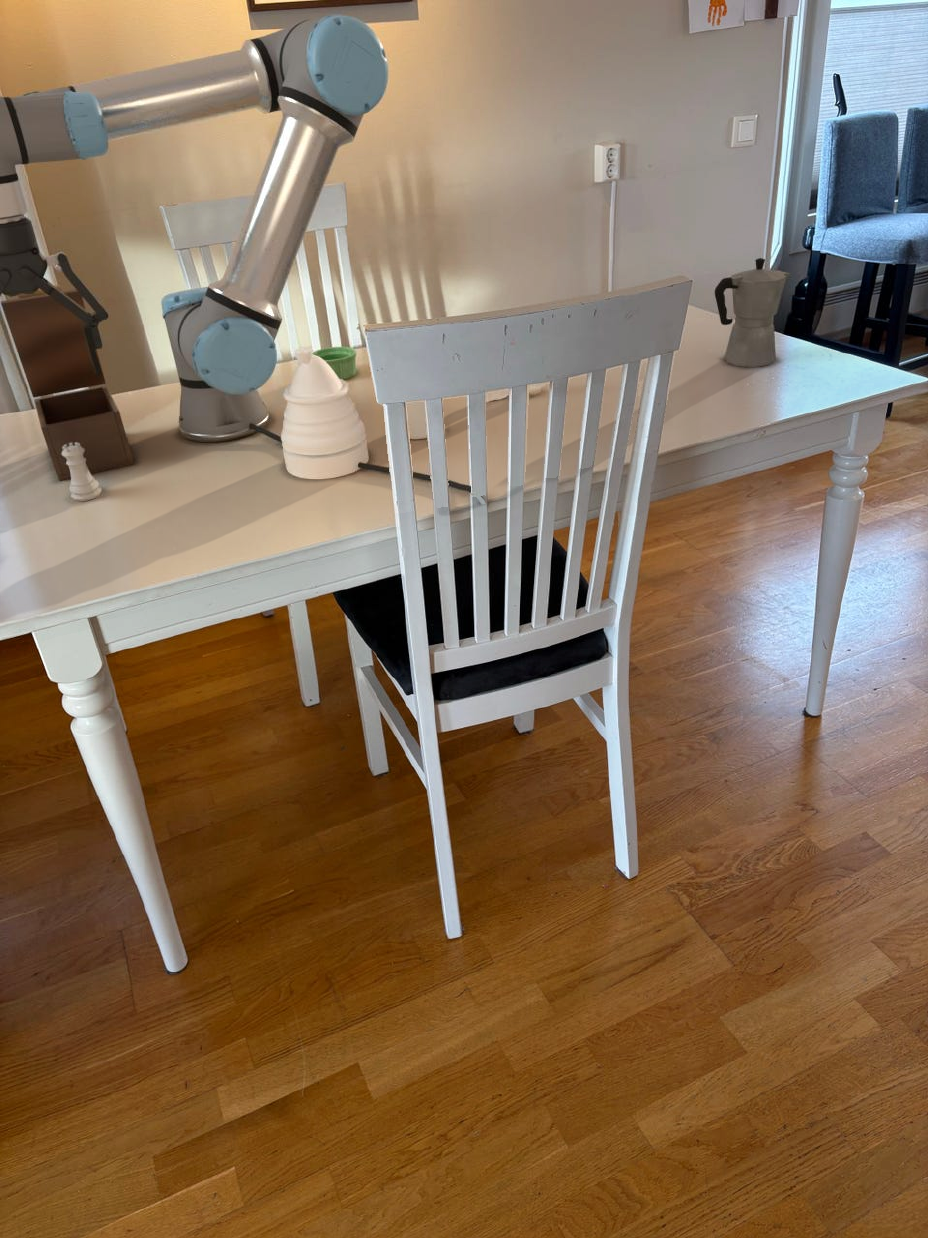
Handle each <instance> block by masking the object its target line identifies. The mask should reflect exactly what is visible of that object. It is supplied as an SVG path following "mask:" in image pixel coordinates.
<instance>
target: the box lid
mask: <svg viewBox="0 0 928 1238" xmlns="http://www.w3.org/2000/svg"><path fill="white" fill-rule="evenodd" d="M54 286H55V287H56V288H58V289H59V290H60V291H62V292H63V293H64V294H65V295H67V296H68V297H69V298H71V299H72V300H73V301H75V302H76V303H77V304H79V305H80V306H81V307H82V308H84V309H85V310H86V311H87V309H86V304H85V302H84V298H83V297H82V296H81V294H80V293H79V292H78V291H77V290H76V289H71V290H70V289H69V290H62V288H61V285H60V284H56V285H54ZM16 297H17V298H13V299H7V300H1V301H0V305H1V309H2V311H3V313H4V316H5V319H6V323H7V325H8V328H9V331H10V334H11V337H12V340H13V343H14V346H15V349H16V352H17V355H18V357H19V360H20V361H19V362H20V363H21V366H22V369H23V371H24V372H23V373H24V375H25V378H26V382H27V383H28V387H29V389H30V392H31V396H32V398H34V399H35V398H38V397H46V396H51V395H56V394H61V393H63V392H64V393H66V392H71V391H76V390H81V389H87V388H92V387H97V386H101V385H107V384H106V379H105V375H104V372H103V368H102V364H101V361H100V357H99V353H98V349H95V351H96V355H97V358H98V362H99V365H100V369H101V373H102V374H100V375H96V373H95V370H94V367H93V363H92V359H91V356H90V352H89V349H88V345H87V341H86V338H85V334H84V331H83V327H82V325H85V324H86V323H85V322H84V321H82V320H81V319H80V318H78V317H77V316H76V315H74V314H73V313H72V312H70V311H69V310H68V309H67V308H65V307H64V306H63V305H61V304H60V303H59V302H57V301H56V300H55V299H53V298H52V297H51V296H49V295H48V294H46V293H45V292H43V291H42V290H41V289H38V290H37V291H36V292H34V293H33V294H19V295H17V296H16Z"/></svg>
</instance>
